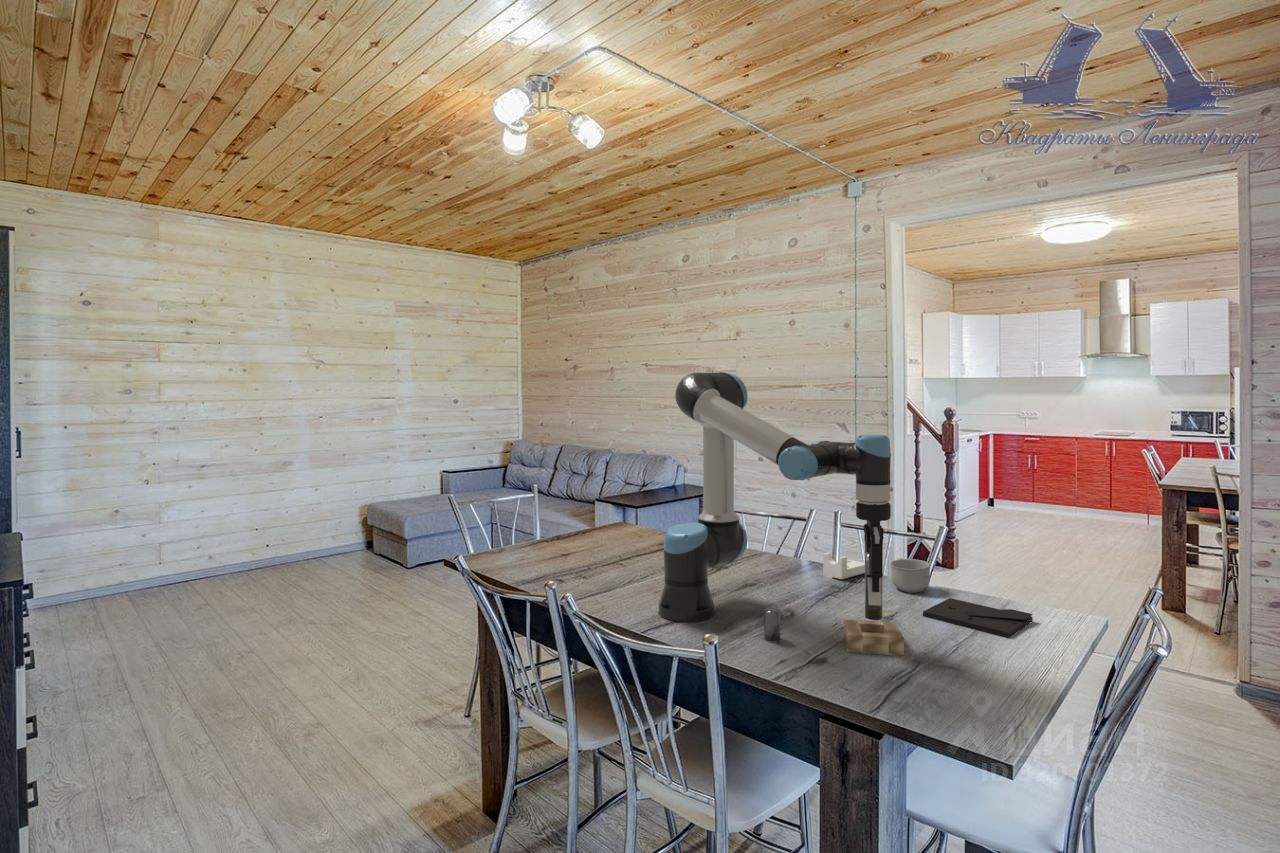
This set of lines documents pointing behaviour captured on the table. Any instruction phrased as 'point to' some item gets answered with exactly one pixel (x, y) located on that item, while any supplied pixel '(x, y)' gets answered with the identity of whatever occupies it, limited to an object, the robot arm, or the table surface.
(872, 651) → the socket block
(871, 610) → the long pin
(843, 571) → the bracket
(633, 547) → the table surface
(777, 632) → the short pin
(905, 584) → the teacup
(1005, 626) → the picture frame
